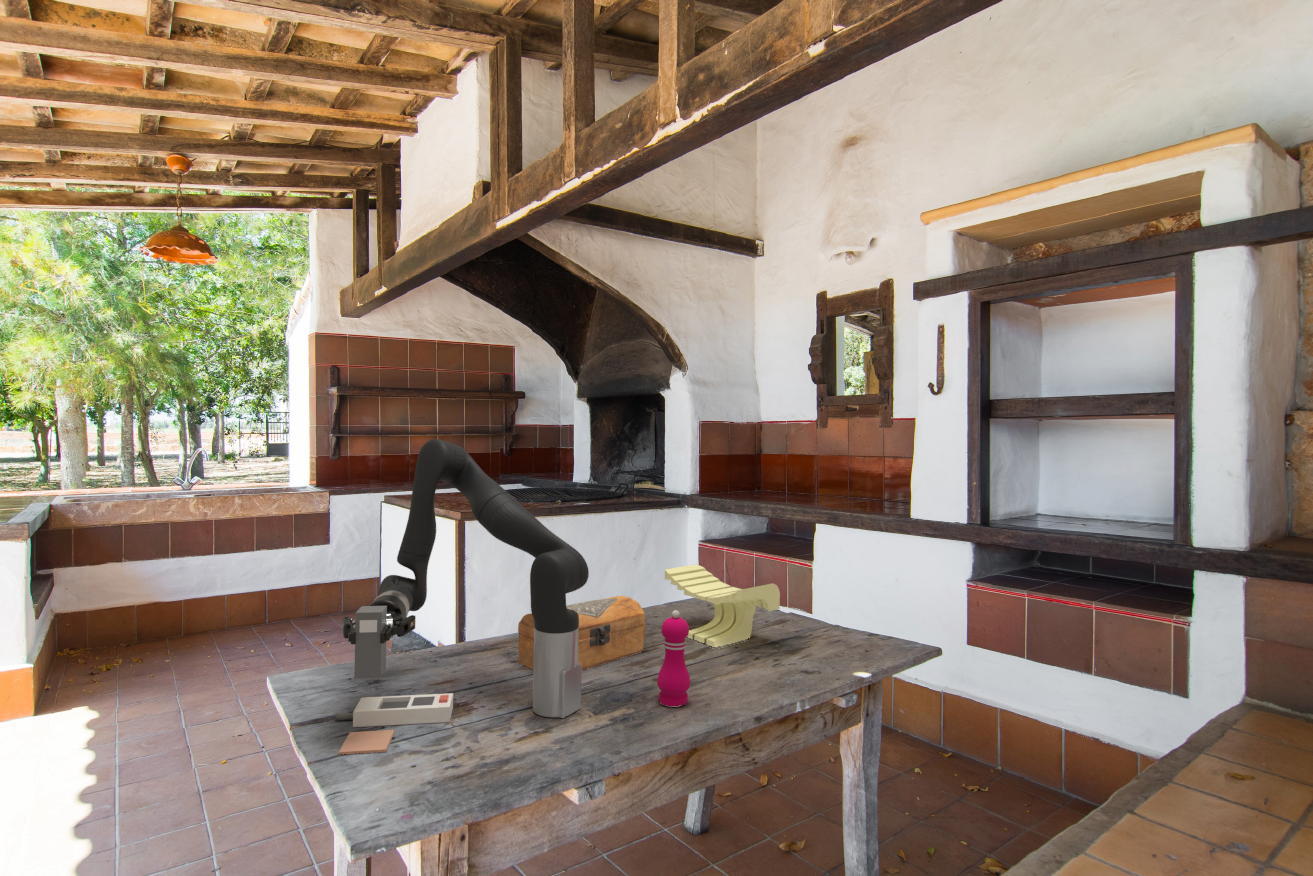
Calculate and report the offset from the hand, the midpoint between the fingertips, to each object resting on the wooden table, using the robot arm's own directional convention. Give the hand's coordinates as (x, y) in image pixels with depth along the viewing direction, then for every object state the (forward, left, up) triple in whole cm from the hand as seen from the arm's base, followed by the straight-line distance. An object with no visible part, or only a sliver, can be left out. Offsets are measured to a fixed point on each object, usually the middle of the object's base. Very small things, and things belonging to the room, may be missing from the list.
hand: (367, 638), depth 125 cm
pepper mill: (-37, -49, -20) cm, 65 cm away
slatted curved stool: (-26, -96, -20) cm, 102 cm away
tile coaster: (+1, -1, -20) cm, 20 cm away
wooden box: (-4, -61, -20) cm, 64 cm away
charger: (+2, -2, -7) cm, 8 cm away
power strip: (+6, -11, -20) cm, 24 cm away
